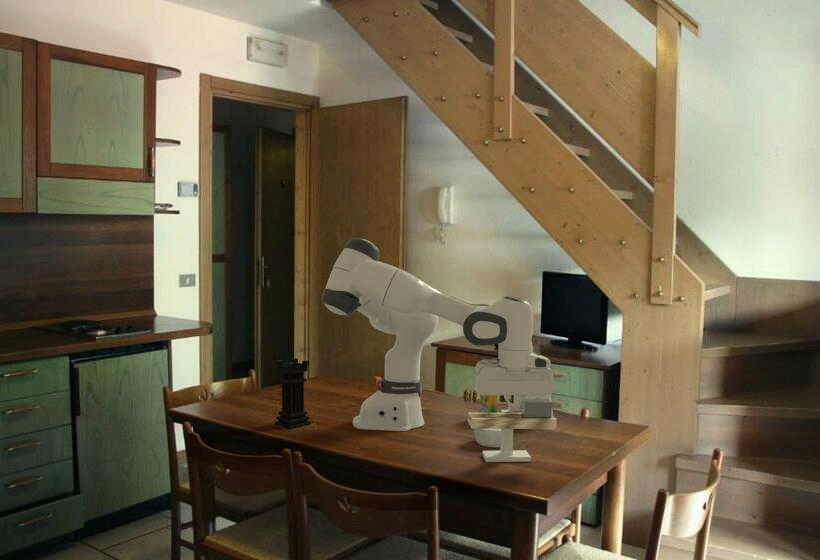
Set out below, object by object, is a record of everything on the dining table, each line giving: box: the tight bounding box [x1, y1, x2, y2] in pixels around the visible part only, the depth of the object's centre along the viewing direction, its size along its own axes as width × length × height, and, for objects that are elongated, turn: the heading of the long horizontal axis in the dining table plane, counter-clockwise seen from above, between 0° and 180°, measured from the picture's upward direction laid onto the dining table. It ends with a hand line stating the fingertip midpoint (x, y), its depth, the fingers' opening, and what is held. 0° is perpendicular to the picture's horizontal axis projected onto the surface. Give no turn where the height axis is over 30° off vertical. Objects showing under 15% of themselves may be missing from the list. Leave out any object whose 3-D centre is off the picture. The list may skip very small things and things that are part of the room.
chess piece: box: [274, 357, 312, 430], centre depth 233 cm, size 8×8×20 cm
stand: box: [482, 409, 532, 463], centre depth 202 cm, size 12×6×13 cm, turn 94°
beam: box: [467, 411, 558, 430], centre depth 196 cm, size 22×7×3 cm, turn 94°
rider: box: [520, 398, 553, 418], centre depth 196 cm, size 7×4×5 cm, turn 94°
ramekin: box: [474, 429, 501, 448], centre depth 216 cm, size 11×11×5 cm
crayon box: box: [479, 395, 498, 413], centre depth 241 cm, size 7×3×12 cm, turn 20°
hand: (514, 411), depth 196 cm, fingers closed
